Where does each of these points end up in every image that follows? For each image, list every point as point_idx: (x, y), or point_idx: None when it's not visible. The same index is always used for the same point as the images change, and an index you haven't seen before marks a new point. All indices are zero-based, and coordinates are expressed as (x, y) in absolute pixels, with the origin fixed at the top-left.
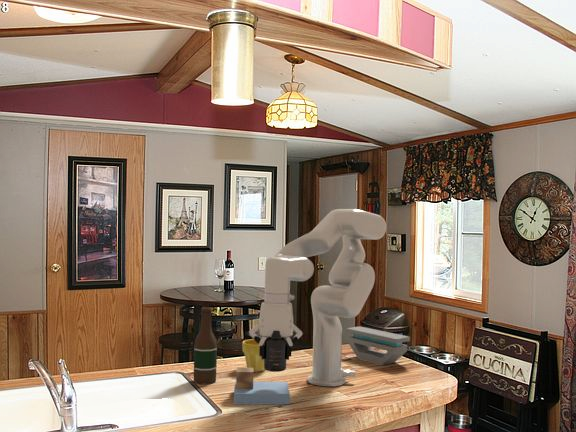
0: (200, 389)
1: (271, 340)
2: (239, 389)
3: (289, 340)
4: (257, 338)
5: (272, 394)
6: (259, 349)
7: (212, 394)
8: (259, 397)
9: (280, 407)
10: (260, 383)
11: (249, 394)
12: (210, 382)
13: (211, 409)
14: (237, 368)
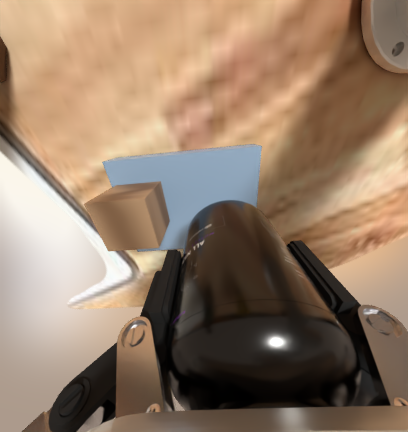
0: (22, 147)
1: None
2: None
3: (367, 396)
4: (108, 412)
5: None
6: (150, 297)
7: (76, 185)
8: None
9: None
10: (180, 173)
11: (169, 248)
12: (2, 78)
13: (118, 260)
14: (92, 216)
